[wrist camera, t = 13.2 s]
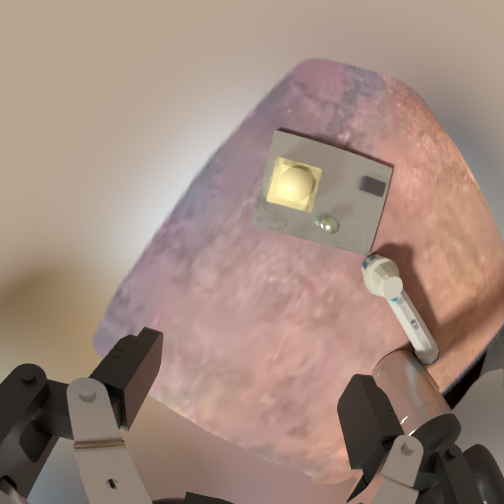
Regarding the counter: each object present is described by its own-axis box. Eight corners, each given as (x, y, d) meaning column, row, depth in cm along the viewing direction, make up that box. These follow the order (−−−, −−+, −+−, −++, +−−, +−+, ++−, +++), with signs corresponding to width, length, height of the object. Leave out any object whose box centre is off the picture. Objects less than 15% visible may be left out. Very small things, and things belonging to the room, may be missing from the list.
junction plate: (389, 168, 34) (409, 167, 28) (365, 254, 37) (381, 267, 31) (274, 131, 34) (276, 121, 28) (251, 224, 37) (248, 232, 31)
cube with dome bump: (313, 171, 34) (323, 168, 27) (303, 207, 35) (311, 213, 29) (275, 160, 34) (278, 156, 27) (266, 197, 35) (266, 201, 29)
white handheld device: (424, 372, 38) (371, 289, 31) (409, 350, 44) (352, 267, 37) (446, 353, 37) (402, 262, 30) (429, 333, 43) (378, 244, 36)
